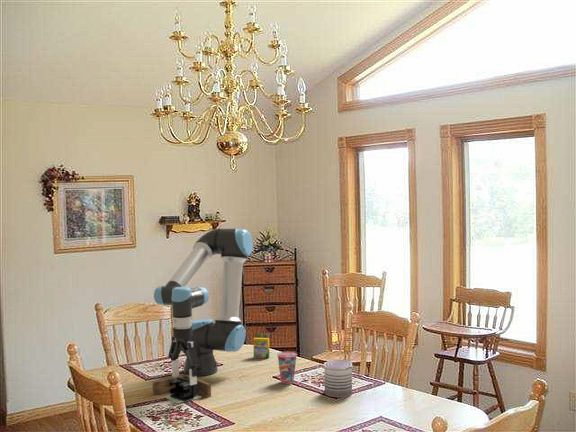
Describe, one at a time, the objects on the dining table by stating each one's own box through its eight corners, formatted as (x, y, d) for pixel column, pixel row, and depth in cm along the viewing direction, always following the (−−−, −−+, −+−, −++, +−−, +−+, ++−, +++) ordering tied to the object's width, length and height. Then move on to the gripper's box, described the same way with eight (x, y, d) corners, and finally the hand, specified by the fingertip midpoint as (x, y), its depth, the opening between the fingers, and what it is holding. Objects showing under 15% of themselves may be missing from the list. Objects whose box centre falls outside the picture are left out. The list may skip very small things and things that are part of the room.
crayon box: (253, 358, 311) (253, 334, 310) (254, 356, 314) (254, 333, 313) (268, 358, 309) (268, 334, 309) (269, 357, 312) (269, 333, 312)
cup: (274, 384, 268) (273, 355, 268) (282, 378, 276) (281, 350, 276) (294, 386, 265) (294, 357, 264) (302, 380, 273) (302, 352, 272)
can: (358, 392, 256) (358, 362, 255) (340, 399, 248) (340, 368, 247) (336, 386, 264) (335, 357, 263) (318, 393, 255) (317, 363, 255)
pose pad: (190, 392, 259) (190, 391, 259) (201, 397, 252) (201, 396, 252) (165, 397, 252) (165, 397, 252) (177, 403, 245) (177, 402, 245)
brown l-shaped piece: (187, 386, 266) (187, 374, 266) (211, 396, 253) (210, 383, 252) (152, 394, 256) (152, 381, 256) (175, 405, 242) (174, 392, 242)
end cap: (199, 397, 251) (199, 380, 251) (185, 401, 246) (185, 384, 246) (183, 392, 258) (182, 375, 257) (168, 396, 252) (168, 379, 252)
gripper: (158, 323, 258) (160, 375, 259) (190, 334, 239) (192, 390, 240) (175, 320, 263) (176, 371, 264) (207, 330, 243) (209, 385, 245)
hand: (184, 380), depth 252 cm, fingers open, 13 cm apart
